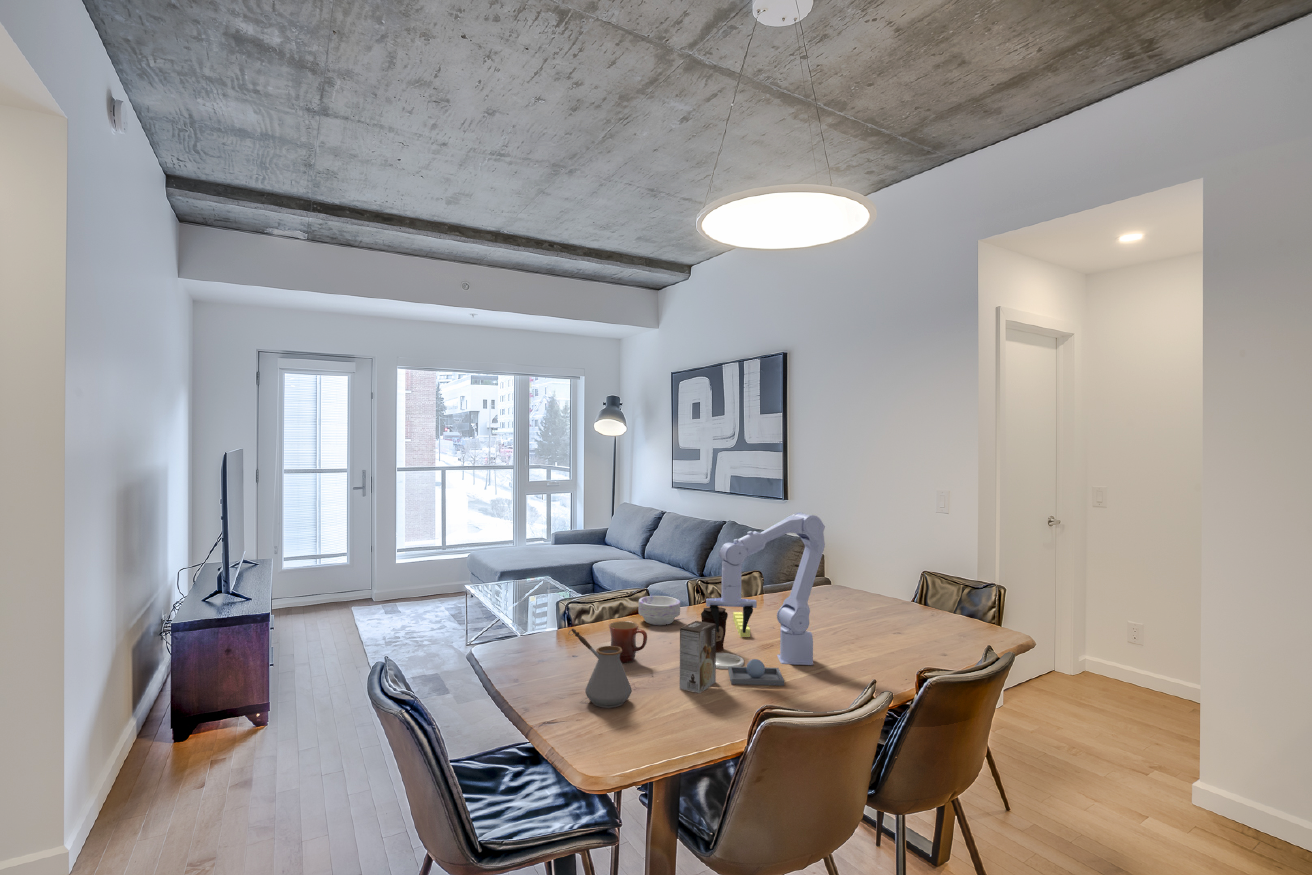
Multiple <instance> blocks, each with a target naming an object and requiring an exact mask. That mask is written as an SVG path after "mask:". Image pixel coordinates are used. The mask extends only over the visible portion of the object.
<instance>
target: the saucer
mask: <svg viewBox="0 0 1312 875" xmlns="http://www.w3.org/2000/svg"><path fill="white" fill-rule="evenodd" d="M744 662H745V661H744V658H743V657H741V656H739V655H737V654H733V653H728V652H716V669H718V670H728V666H733V667H743V666H744V664H745V663H744Z"/></svg>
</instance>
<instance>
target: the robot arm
mask: <svg viewBox="0 0 1312 875" xmlns="http://www.w3.org/2000/svg"><path fill="white" fill-rule="evenodd" d="M825 527H826V526H825V524H824V522H823V521H822V519H821V518H820V517H819V516H818V515H815V514H812V515H811V514H807V513H804V512H796V513H794V514H791V515H789V516H787V517H785V518H784V519H782V520H780V521H778V522H777V523H775V524H773V525H772V526H770V527H768V528H766V529H765V530H763V531H761V532H759V531H755V530H754V531H752V530H749V531H747V533H746V535H744V536H742V537H740V538H735V539H733V542H725V543H724V544H722V546H721V547H720V551H718V556H719V558H720V560H721V597H717V598H716V597H715V598H713V597H712V598H706V599H705V606H706V607H705V608H709V607H710V610H711V612H712V615H713V617H714V620H715V624H716V632H719V607H729V608H730V607H733V608H734V607H735V608H742V613H743V626H742V631H743V633H746V627H747V624H748V623H749V621H750V619H751V616H752V615H753V612H754V608H755V609H756V608H757V602H758V601H757V600H756V599H748V598H742V564H743V563H744V561H745V559H746V558H748V557H749V556H751V555H753V554H756V553H758V552H760V551H762V550H764V549H765V547H766V544H767V543H769V542H771V541H773V540H776V539H778V538H780V537H783V536H785V535H786V534H796V535H797V536H798V537H799V538H800V540H801V541H802V543H803V545H804V549H803V552H802V557H801V559H800V562H799V565H798V568H797V571H796V572H797V573H796V574H795V578H794V580H793V581H794V582H793V584H792V588H791V590H790V594H789V596H787V597H786V598H785V599H784V600H783V603H782V605H781V606H780V608H779V609H778V610H777V612H776V619H777V621H778V624H780V636H779V637H780V640H779V642H780V645H779V652H780V653H779V654H776V656H777V658H778V660H779V662H780V664H782V665H794V666H795V665H797V666H798V665H799V666H800V665H801V666H802V665H803V666H813V665H814V638H813V637H814V636H813V633H812V631H809V630H808V628H809V626H810V613H811V609H810V606H809V604H808V603H809V602H808V601H809V599H810V596H811V592H812V588H813V586H814V583H815V579H816V576H817V574H818V573H817V572H818V570H819V566H820V564H821V559H822V558H823V553H824V550H825V548H826V542H825V535H824V534H825V533H824V531H825ZM748 625H749V624H748ZM807 630H808V631H807Z"/></svg>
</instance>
